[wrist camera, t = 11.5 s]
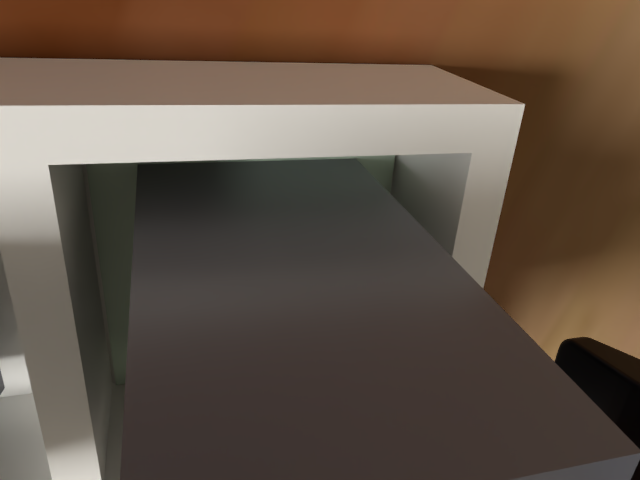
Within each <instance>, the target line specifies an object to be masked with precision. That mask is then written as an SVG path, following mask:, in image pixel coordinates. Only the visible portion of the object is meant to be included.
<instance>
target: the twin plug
mask: <svg viewBox="0 0 640 480" xmlns="http://www.w3.org/2000/svg"><path fill="white" fill-rule="evenodd" d="M4 388H5V386H4V382H3V378H2V374H1V370H0V395H1V393H2V392H3V390H4Z"/></svg>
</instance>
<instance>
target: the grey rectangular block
mask: <svg viewBox="0 0 640 480" xmlns="http://www.w3.org/2000/svg"><path fill="white" fill-rule="evenodd" d="M639 460H640V449H639V448H638V447H637V446H636V445H635V444H634V443H633V442H632V441H631V440H630V439H629V438H628V437H627V436H626V435H625V434H624V433H623V432H622V431H621V430H620V429H619V427H618V426H617V425H616V424H615V423H614V422H613V421H612V420H611V419H610V418H609V417H608V416H607V415H606V414H605V413H604V412H603V411H602V410H601V409H600V408H599V407H598V406H597V405H596V404H595V403H594V402H593V401H592V400H591V399H590V398H589V397H588V396H587V395H586V394H585V393H584V392H583V391H582V390H581V389H580V388H579V387H578V385H577V384H576V383H575V382H574V381H573V380H572V379H571V378H570V377H569V376H568V375H567V374H566V373H565V372H564V371H563V370H562V369H561V368H560V367H559V366H558V365H557V364H556V363H555V362H554V361H553V360H552V359H551V358H550V357H549V356H548V355H547V354H546V353H545V352H544V351H543V350H542V349H541V348H540V347H539V346H538V345H537V343H536V342H535V341H534V340H533V339H532V338H531V337H530V336H529V335H528V334H527V333H526V332H525V331H524V330H523V329H522V328H521V327H520V326H519V325H518V324H517V323H516V322H515V321H514V320H513V319H512V318H511V317H510V316H509V315H508V314H507V313H506V312H505V311H504V310H503V309H502V308H501V307H500V306H499V305H498V304H497V303H496V301H495V300H494V299H493V298H492V297H491V296H490V295H489V294H488V293H487V292H486V291H485V290H484V289H483V288H482V287H481V286H480V285H479V284H478V283H477V282H476V281H475V280H474V279H473V278H472V277H471V276H470V275H469V274H468V273H467V272H466V271H465V270H464V269H463V268H462V267H461V266H460V265H459V264H458V263H457V262H456V261H455V259H454V258H453V257H452V256H451V255H450V254H449V253H448V252H447V251H446V250H445V249H444V248H443V247H442V246H441V245H440V244H439V243H438V242H437V241H436V240H435V239H434V238H433V237H432V236H431V235H430V234H429V233H428V232H427V231H426V230H425V229H424V228H423V227H422V226H421V225H420V224H419V223H418V222H417V221H416V220H415V219H414V217H413V216H412V215H411V214H410V213H409V212H408V211H407V210H406V209H405V208H404V207H403V206H402V205H401V204H400V203H399V202H398V201H397V200H396V199H395V198H394V197H393V196H392V195H391V194H390V193H389V192H388V191H387V190H386V189H385V188H384V187H383V186H382V185H381V184H380V183H379V182H378V181H377V180H376V179H375V178H374V177H373V175H372V174H371V173H370V172H369V171H368V170H367V169H366V168H365V167H364V166H363V165H362V164H361V163H360V162H359V161H358V160H357V159H356V158H355V159H318V160H281V161H244V162H207V163H170V164H138V166H137V183H136V201H135V219H134V237H133V255H132V272H131V290H130V308H129V326H128V344H127V361H126V379H125V397H124V415H123V433H122V450H121V468H120V480H631V478H632V476H633V473H634V471H635V469H636V467H637V465H638V462H639Z"/></svg>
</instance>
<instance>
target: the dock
mask: <svg viewBox="0 0 640 480" xmlns="http://www.w3.org/2000/svg"><path fill="white" fill-rule="evenodd" d="M524 107H525V104H524V103H521V102H519V101H516V100H514V99H512V98H509V97H507V96H504V95H502V94H500V93H497V92H495V91H493V90H490V89H488V88H485V87H483V86H481V85H478V84H476V83H473V82H471V81H469V80H466V79H464V78H461V77H459V76H457V75H454V74H452V73H449V72H447V71H445V70H442V69H440V68H437V67H435V66H433V65H401V64H343V63H286V62H228V61H171V60H113V59H56V58H0V370H1V374H2V378H3V382H4V386H5V388H4V390H3V392H2V393H1V395H0V480H120V468H121V450H122V433H123V415H124V397H125V379H126V361H127V344H128V326H129V308H130V290H131V272H132V255H133V237H134V219H135V201H136V183H137V166H138V164H170V163H207V162H244V161H281V160H318V159H355V158H356V159H357V160H358V161H359V162H360V163H361V164H362V165H363V166H364V167H365V168H366V169H367V170H368V171H369V172H370V173H371V174H372V175H373V177H374V178H375V179H376V180H377V181H378V182H379V183H380V184H381V185H382V186H383V187H384V188H385V189H386V190H387V191H388V192H389V193H390V194H391V195H392V196H393V197H394V198H395V199H396V200H397V201H398V202H399V203H400V204H401V205H402V206H403V207H404V208H405V209H406V210H407V211H408V212H409V213H410V214H411V215H412V216H413V217H414V219H415V220H416V221H417V222H418V223H419V224H420V225H421V226H422V227H423V228H424V229H425V230H426V231H427V232H428V233H429V234H430V235H431V236H432V237H433V238H434V239H435V240H436V241H437V242H438V243H439V244H440V245H441V246H442V247H443V248H444V249H445V250H446V251H447V252H448V253H449V254H450V255H451V256H452V257H453V258H454V259H455V261H456V262H457V263H458V264H459V265H460V266H461V267H462V268H463V269H464V270H465V271H466V272H467V273H468V274H469V275H470V276H471V277H472V278H473V279H474V280H475V281H476V282H477V283H478V284H479V285H480V286H481V287H482V288H484V283H485V279H486V275H487V270H488V266H489V261H490V257H491V253H492V248H493V244H494V239H495V235H496V231H497V226H498V222H499V217H500V213H501V209H502V204H503V200H504V195H505V191H506V187H507V182H508V178H509V173H510V169H511V165H512V160H513V156H514V151H515V147H516V143H517V138H518V134H519V129H520V125H521V121H522V116H523V112H524Z"/></svg>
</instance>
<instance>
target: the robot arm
mask: <svg viewBox="0 0 640 480" xmlns="http://www.w3.org/2000/svg"><path fill="white" fill-rule="evenodd" d="M555 363H556V364H557V365H558V366H559V367H560V368H561V369H562V370H563V371H564V372H565V373H566V374H567V375H568V376H569V377H570V378H571V379H572V380H573V381H574V382H575V383H576V384H577V385H578V387H579V388H580V389H581V390H582V391H583V392H584V393H585V394H586V395H587V396H588V397H589V398H590V399H591V400H592V401H593V402H594V403H595V404H596V405H597V406H598V407H599V408H600V409H601V410H602V411H603V412H604V413H605V414H606V415H607V416H608V417H609V418H610V419H611V420H612V421H613V422H614V423H615V424H616V425H617V426H618V427H619V429H620V430H621V431H622V432H623V433H624V434H625V435H626V436H627V437H628V438H629V439H630V440H631V441H632V442H633V443H634V444H635V445H636V446H637V447H638V448H639V449H640V359H638V358H635V357H633V356H631V355H629V354H626V353H624V352H622V351H619V350H617V349H615V348H612V347H610V346H608V345H605V344H603V343H601V342H598V341H596V340H594V339H591V338H588V337H579V338H571V339H566V340H564V341H563V342H562V343H561V344H560V347H559V350H558V353H557V356H556V359H555ZM631 480H640V460H639V462H638V465H637V467H636V469H635V471H634V473H633V476H632V478H631Z"/></svg>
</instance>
